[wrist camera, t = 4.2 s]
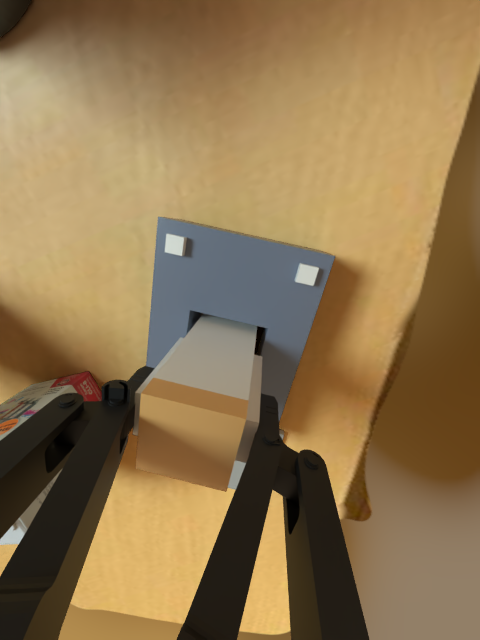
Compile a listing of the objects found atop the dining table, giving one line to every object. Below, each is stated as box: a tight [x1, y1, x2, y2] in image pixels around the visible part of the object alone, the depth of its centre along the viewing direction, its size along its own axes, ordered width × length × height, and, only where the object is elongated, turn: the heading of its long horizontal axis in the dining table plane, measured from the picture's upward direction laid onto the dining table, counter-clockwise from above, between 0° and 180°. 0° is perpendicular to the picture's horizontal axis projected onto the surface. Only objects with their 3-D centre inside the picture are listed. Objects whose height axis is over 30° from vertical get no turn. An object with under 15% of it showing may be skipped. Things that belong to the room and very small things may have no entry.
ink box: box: [0, 371, 102, 545], centre depth 24 cm, size 9×9×12 cm
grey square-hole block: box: [146, 217, 335, 421], centre depth 21 cm, size 18×12×5 cm, turn 168°
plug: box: [136, 313, 257, 492], centre depth 17 cm, size 5×5×13 cm
